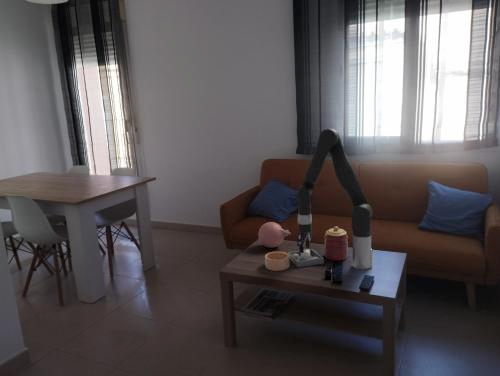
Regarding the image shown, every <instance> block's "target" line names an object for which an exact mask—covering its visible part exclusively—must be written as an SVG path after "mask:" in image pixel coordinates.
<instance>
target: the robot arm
mask: <svg viewBox="0 0 500 376" xmlns="http://www.w3.org/2000/svg"><path fill="white" fill-rule="evenodd" d="M318 136H319V137H318V139H317V143H316V148H315V151H314V153H313V155H312V158H311V161H310V163H309V165H308V167H307V170H306V172H305V174H304V177H303V181H302V183H301V185H300V187H299V188H298V189H297V193H296V198H297V205H298V207H297V230H298V231H299V234H297V237H296V239H297V242H296V243H297V247H299V250H298V251H299V252H300V253H303V252H304V249H309V248H310V246H311V240H312V238H313V237H312V229H313V228H312V227H313V221H312V220H313V219H312V205H311V195H312V194H313V192H314V189H315V186H316V183H317V181H318V180H319V177H320V175H321V173H322V170H323V168H324V167H323V166H324V164H325V161H326V158H327V156H328V154H329V155H330V158H331V161H332V166H333V171H334V174H335V176H336V179H337V181H338V183H339V184H340V187H341V188H342V189H343V191H345V193H346V195H348V197H349V199H350V201H351V205H352V207H353V209H352V210H351V211H352V212H351V230H352V262H351V265H352V267H353V268H354V269H358V270H368V269H370V268H372V267H373V249H372V229H371V218H372V216H373V208H372V206H371V205H370V203H369V201H368V199H367V198H366V196H365V193H364V192H363V189H362V186H361V184H360V181H359V180H358V177H357V175H356V172H355V169H354V167H353V165H352V164H351V161H350V159H349V157H348V156H347V154H346V152H345V150H344V147H343V143H342V140H341V138H340V134H339V132H338V131H337V130H336V129H335V128H329V127H328V128H325V129H323V130H322V131H321V132H320V133H319V135H318ZM304 247H305V248H304Z"/></svg>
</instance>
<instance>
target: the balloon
mask: <svg viewBox="0 0 500 376" xmlns="http://www.w3.org/2000/svg"><path fill="white" fill-rule="evenodd" d="M258 230H259V231H258V235H257V236H258V240H259V241H260V243H261V244H262V246H264V247H266V248H271V249H272V248H276V247H278V246H280V245H281V244H282V242H283V241H284V238H285V237H288V236H289V235H291V234H292V233H291V232H290V231H289V229H284V228H282V226H281V225H280V224H279V223H276V222H274V221H269V222H266V223H263V224H262V226H261V227H259V229H258Z"/></svg>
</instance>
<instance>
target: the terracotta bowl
mask: <svg viewBox="0 0 500 376" xmlns="http://www.w3.org/2000/svg"><path fill="white" fill-rule="evenodd" d="M264 266H265V268H266V269H267V270H269V271H274V272H275V271H276V272H277V271H278V272H279V271H284V270H285V271H286V270H287V269H289V268H290V259H289V255H288V252H284V251H272V252H271V251H270V252H268V253H266V254H265V255H264Z"/></svg>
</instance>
